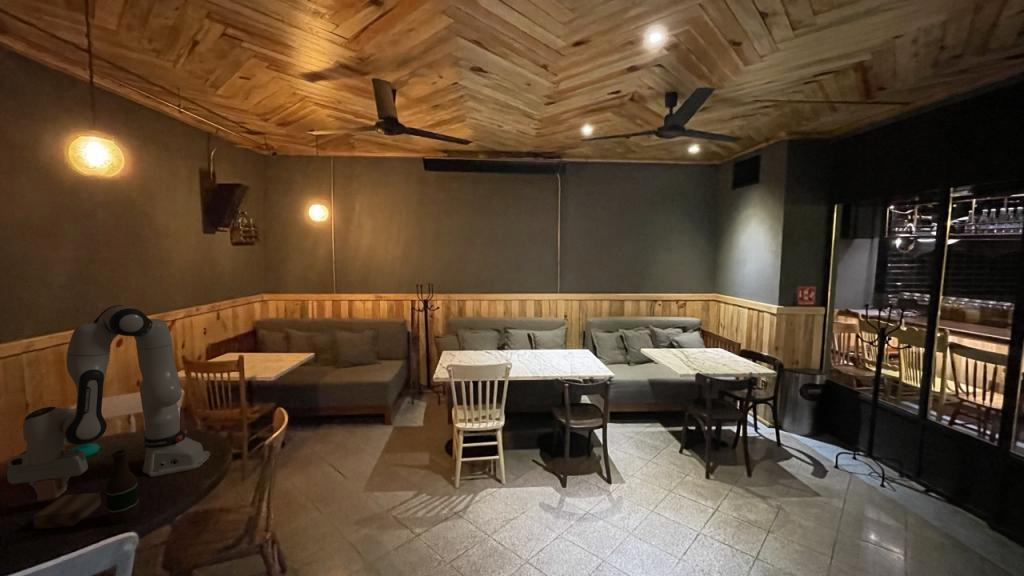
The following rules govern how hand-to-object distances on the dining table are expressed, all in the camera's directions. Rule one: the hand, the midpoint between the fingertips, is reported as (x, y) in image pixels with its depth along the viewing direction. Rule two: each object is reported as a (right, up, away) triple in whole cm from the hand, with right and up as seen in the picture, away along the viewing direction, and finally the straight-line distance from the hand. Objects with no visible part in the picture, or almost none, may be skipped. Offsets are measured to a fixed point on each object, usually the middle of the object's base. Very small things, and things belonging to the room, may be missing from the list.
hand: (51, 489), depth 142 cm
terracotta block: (0, -2, 0) cm, 2 cm away
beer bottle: (+31, -8, -5) cm, 32 cm away
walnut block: (+12, -7, -5) cm, 15 cm away
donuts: (-25, -2, +33) cm, 41 cm away
